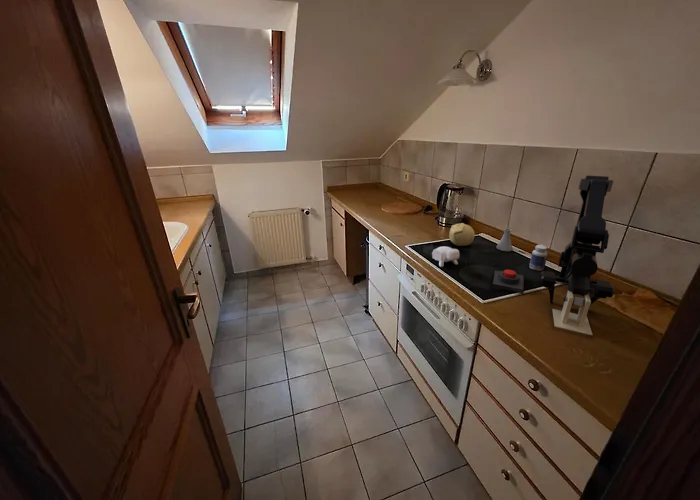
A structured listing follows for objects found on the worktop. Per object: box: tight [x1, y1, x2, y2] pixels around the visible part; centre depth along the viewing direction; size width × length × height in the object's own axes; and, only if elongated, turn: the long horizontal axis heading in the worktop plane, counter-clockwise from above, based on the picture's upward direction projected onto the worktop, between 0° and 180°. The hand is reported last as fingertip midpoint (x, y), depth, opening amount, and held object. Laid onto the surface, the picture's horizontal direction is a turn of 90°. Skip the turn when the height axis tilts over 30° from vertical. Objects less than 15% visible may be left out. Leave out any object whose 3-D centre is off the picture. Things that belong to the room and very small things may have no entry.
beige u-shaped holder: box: [552, 290, 593, 336], centre depth 89 cm, size 10×9×10 cm
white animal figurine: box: [431, 245, 461, 268], centre depth 130 cm, size 9×8×15 cm
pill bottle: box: [529, 244, 548, 272], centre depth 123 cm, size 5×5×10 cm
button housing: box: [491, 270, 525, 294], centre depth 112 cm, size 12×10×4 cm
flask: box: [496, 227, 513, 252], centre depth 142 cm, size 7×7×10 cm
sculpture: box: [448, 222, 475, 247], centre depth 150 cm, size 11×12×11 cm
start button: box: [503, 269, 517, 278], centre depth 111 cm, size 4×4×2 cm
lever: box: [563, 295, 584, 307], centre depth 92 cm, size 13×3×3 cm, turn 152°
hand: (567, 305), depth 98 cm, fingers open, 9 cm apart
